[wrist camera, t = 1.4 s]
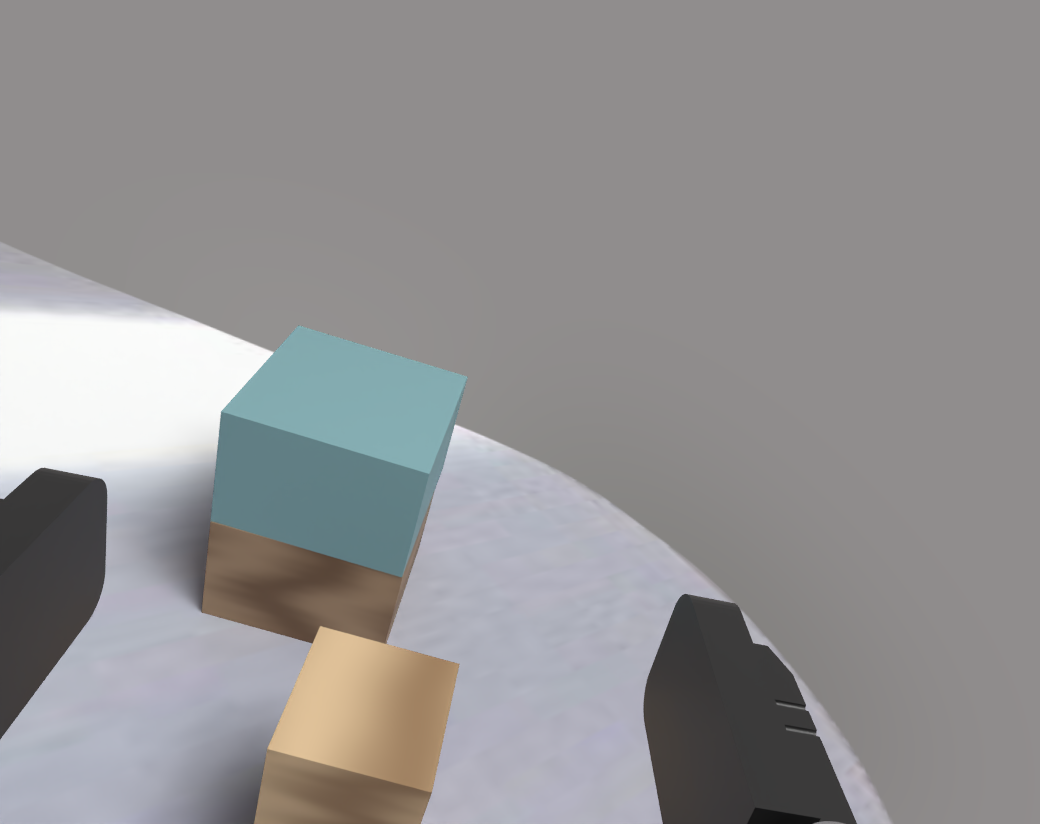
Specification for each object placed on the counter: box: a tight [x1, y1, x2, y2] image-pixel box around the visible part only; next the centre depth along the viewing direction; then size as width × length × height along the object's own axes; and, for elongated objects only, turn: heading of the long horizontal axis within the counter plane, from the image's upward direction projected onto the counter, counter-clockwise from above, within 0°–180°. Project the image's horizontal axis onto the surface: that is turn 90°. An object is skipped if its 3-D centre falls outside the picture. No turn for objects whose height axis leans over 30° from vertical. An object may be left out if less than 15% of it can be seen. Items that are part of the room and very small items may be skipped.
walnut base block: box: [202, 490, 435, 644], centre depth 42 cm, size 9×9×6 cm
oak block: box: [254, 626, 459, 824], centre depth 29 cm, size 5×5×10 cm
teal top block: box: [211, 326, 468, 577], centre depth 39 cm, size 9×9×6 cm
